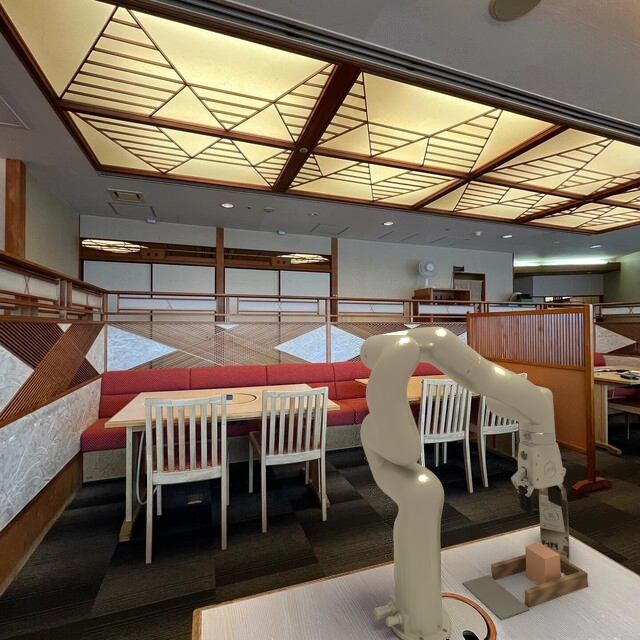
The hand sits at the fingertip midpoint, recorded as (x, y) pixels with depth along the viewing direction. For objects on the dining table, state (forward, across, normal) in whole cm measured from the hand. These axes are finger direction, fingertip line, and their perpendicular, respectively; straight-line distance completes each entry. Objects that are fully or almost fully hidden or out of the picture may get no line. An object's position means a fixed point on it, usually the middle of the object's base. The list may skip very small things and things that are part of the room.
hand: (541, 507), depth 82 cm
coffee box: (+18, +13, +7) cm, 23 cm away
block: (+17, -1, 0) cm, 17 cm away
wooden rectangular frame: (+17, -3, 0) cm, 17 cm away
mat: (+17, -16, 0) cm, 23 cm away
